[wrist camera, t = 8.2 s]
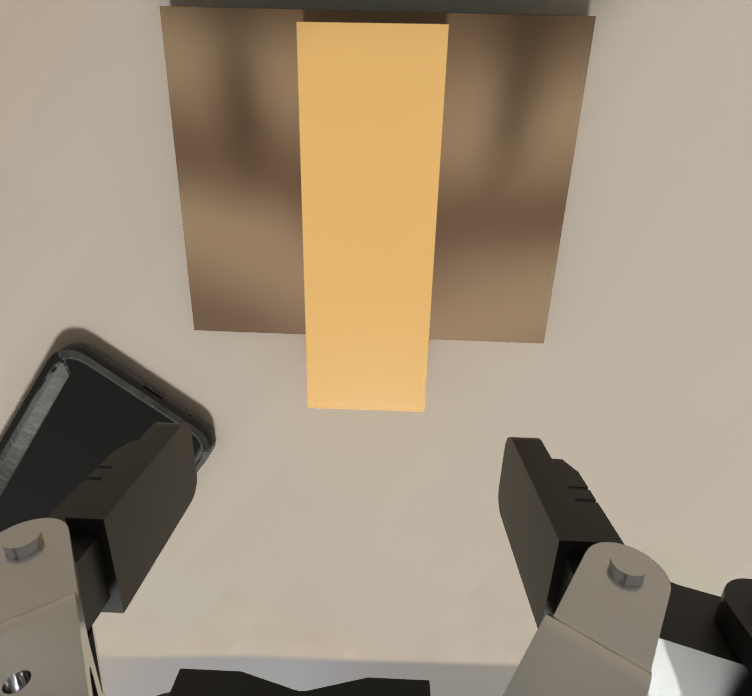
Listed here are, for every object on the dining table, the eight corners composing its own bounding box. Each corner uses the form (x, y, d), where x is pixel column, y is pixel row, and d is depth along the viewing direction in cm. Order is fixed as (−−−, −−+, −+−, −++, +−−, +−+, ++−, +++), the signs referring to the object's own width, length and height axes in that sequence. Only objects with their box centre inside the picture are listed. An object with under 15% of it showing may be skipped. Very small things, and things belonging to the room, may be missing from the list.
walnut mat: (170, 14, 16) (159, 5, 15) (585, 24, 16) (596, 16, 15) (201, 324, 20) (194, 329, 19) (537, 337, 19) (543, 343, 19)
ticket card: (303, 33, 15) (296, 22, 14) (444, 35, 15) (448, 24, 14) (312, 394, 20) (307, 407, 18) (422, 398, 20) (424, 411, 18)
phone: (-67, 558, 24) (60, 338, 19) (-47, 542, 25) (77, 330, 20) (74, 633, 25) (221, 445, 21) (87, 615, 26) (229, 432, 22)
